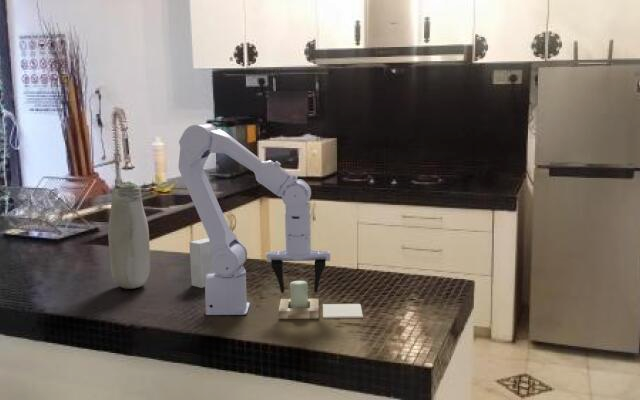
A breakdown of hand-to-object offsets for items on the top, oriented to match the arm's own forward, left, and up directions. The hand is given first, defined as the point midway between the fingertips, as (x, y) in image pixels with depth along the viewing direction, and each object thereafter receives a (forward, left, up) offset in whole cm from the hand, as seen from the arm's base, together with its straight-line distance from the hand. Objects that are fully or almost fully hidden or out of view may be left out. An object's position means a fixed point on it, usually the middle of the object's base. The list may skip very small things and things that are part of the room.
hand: (299, 291), depth 154 cm
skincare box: (-26, +24, -5) cm, 36 cm away
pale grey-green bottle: (-45, +22, -5) cm, 50 cm away
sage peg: (0, 0, -5) cm, 5 cm away
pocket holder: (0, 0, -5) cm, 5 cm away
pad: (+10, 0, -5) cm, 11 cm away
